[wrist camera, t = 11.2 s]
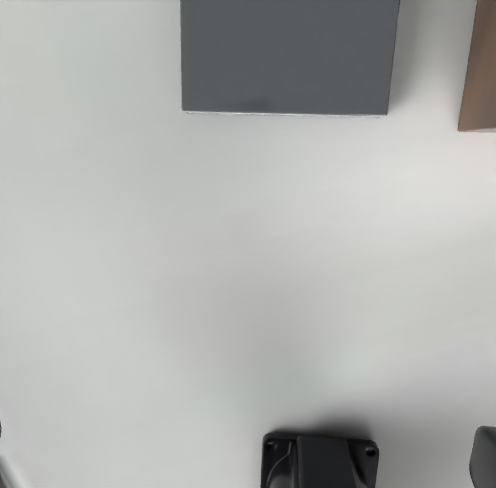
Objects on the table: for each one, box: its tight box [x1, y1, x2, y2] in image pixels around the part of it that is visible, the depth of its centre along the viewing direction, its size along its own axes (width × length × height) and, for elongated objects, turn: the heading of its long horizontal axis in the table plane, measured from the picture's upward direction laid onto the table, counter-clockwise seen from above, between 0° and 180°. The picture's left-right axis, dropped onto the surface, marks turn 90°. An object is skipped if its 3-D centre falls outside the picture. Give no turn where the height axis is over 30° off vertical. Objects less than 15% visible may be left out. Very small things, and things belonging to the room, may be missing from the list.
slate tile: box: [180, 0, 400, 118], centre depth 17 cm, size 9×9×1 cm
